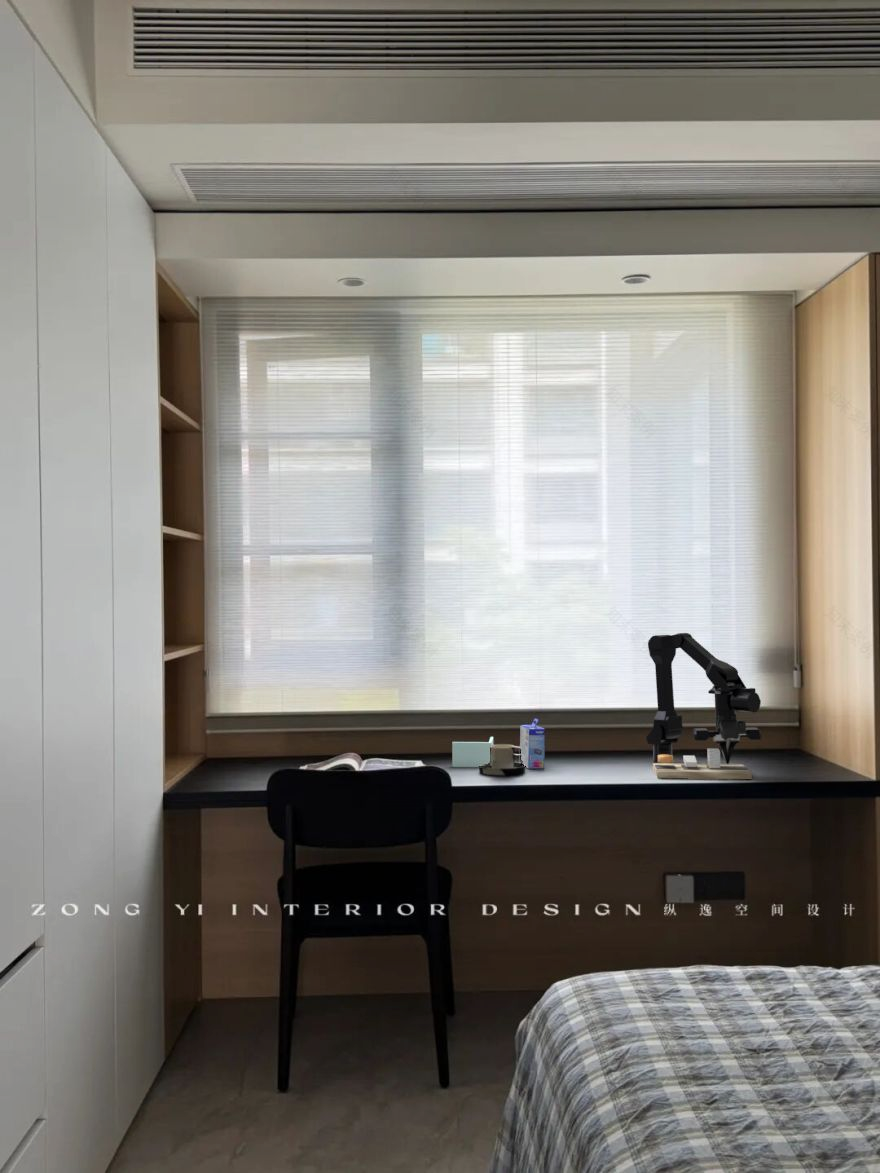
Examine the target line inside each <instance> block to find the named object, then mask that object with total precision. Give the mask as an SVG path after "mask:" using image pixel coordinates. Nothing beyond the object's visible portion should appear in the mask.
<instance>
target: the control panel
mask: <svg viewBox="0 0 880 1173" xmlns="http://www.w3.org/2000/svg"><path fill="white" fill-rule="evenodd" d="M653 770H654V771H653ZM652 771H653V772H655V773H654V774H656V775H655V776H657V777H656V779H657V778H688V779H687V780H718V779H752V780H753V778H752V776H753V775H752V772H751V771H750V770H749V768H748V767H747V766H746V765H744V764H743V763H729V764H726V763H720V768H709V767H708V763H697V767H686V766H685V764H684V762H682V763H681V762H679V763H678V762H677V763H676V762H674V763H652Z"/></svg>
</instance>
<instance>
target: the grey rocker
mask: <svg viewBox="0 0 880 1173" xmlns="http://www.w3.org/2000/svg"><path fill="white" fill-rule="evenodd" d="M682 756H683V759H682V761H683V763H684V764H685V766H686V767H697V764H698V760H697V758H696V756H695V755H682Z"/></svg>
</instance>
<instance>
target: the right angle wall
mask: <svg viewBox="0 0 880 1173" xmlns="http://www.w3.org/2000/svg"><path fill="white" fill-rule="evenodd" d="M451 745H452V748H451V749H452V750H451V751H452V753H451V754H452V755H451V756H452V762H451V763H452V768H480V767H479V766H480V765H482V764H488V763H489V762H490V747H491V746H492V745H494V736H490V737H489V741H452V744H451Z"/></svg>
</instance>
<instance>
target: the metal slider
mask: <svg viewBox="0 0 880 1173" xmlns="http://www.w3.org/2000/svg"><path fill="white" fill-rule="evenodd" d="M706 751H707V764H708V767H709V768H720V764H721V749H719V748H708V747H707V748H706Z"/></svg>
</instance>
